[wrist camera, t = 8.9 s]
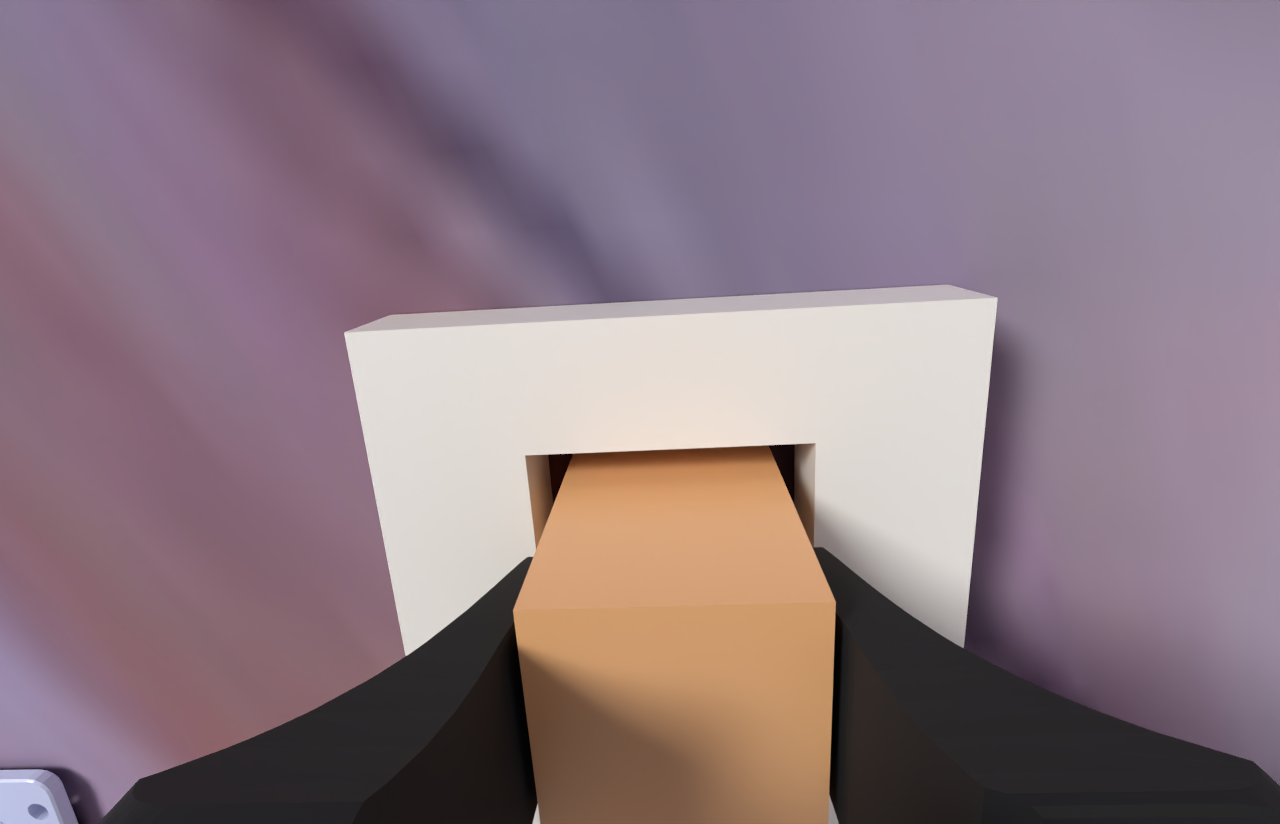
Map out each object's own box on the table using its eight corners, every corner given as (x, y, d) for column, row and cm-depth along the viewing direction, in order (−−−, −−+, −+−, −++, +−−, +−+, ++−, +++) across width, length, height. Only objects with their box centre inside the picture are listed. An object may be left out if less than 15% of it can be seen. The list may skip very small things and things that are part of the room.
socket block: (899, 928, 18) (1017, 1291, 12) (493, 929, 18) (411, 1274, 12) (948, 284, 13) (1192, 348, 7) (390, 314, 13) (169, 398, 7)
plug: (765, 605, 15) (827, 851, 9) (590, 610, 15) (544, 852, 9) (765, 439, 14) (836, 602, 8) (575, 446, 14) (513, 610, 8)
